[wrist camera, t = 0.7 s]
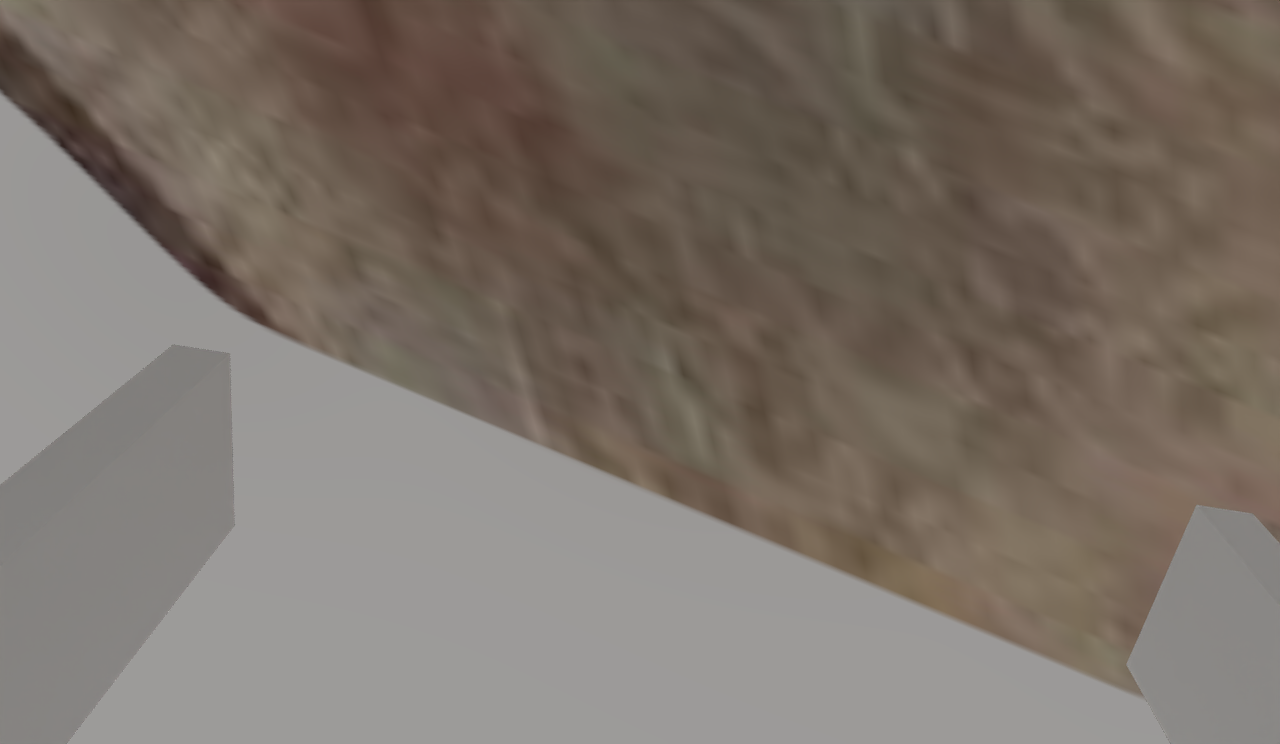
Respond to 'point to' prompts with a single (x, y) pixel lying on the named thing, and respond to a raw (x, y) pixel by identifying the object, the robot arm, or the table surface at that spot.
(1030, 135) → the table surface
